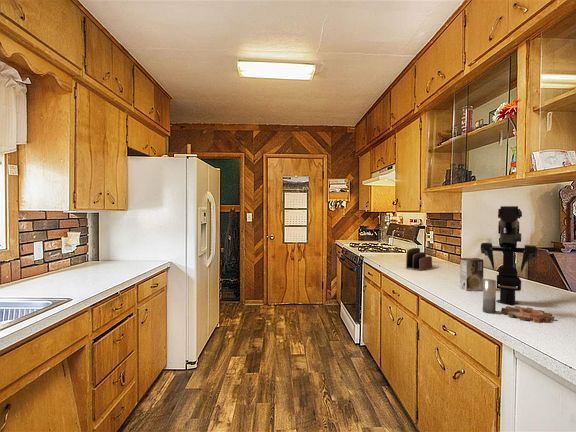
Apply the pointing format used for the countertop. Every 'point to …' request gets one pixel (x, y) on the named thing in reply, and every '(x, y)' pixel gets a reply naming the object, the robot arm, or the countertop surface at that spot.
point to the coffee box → (471, 274)
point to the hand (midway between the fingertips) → (507, 269)
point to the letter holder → (417, 260)
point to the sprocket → (527, 314)
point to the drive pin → (489, 296)
